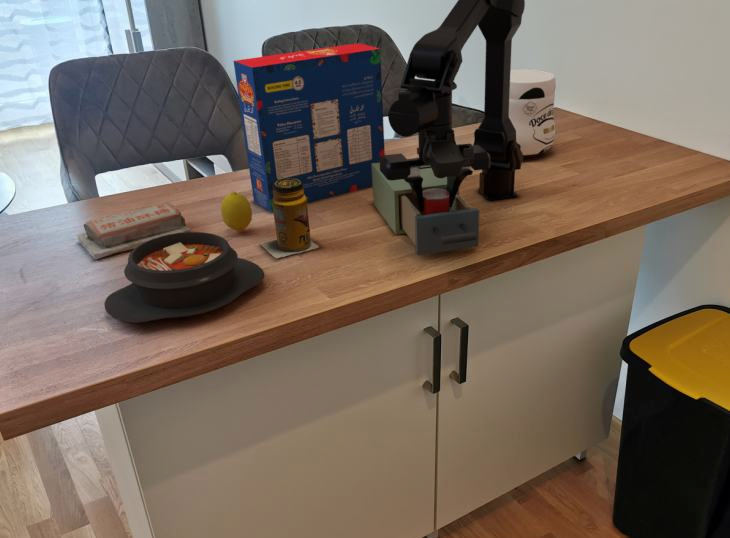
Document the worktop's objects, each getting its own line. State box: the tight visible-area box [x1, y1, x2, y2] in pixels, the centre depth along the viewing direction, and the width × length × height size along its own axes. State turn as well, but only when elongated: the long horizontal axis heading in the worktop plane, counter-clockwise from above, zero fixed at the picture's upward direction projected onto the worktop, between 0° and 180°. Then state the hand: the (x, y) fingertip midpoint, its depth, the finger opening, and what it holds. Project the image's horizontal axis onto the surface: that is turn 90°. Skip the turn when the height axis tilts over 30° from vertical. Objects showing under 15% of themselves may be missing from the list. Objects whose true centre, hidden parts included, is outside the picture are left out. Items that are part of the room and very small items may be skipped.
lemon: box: [220, 191, 253, 233], centre depth 136 cm, size 6×6×8 cm
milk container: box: [509, 68, 556, 159], centre depth 173 cm, size 17×17×18 cm
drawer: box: [398, 188, 480, 256], centre depth 130 cm, size 21×11×7 cm, turn 18°
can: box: [422, 189, 450, 215], centre depth 131 cm, size 5×5×5 cm
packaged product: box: [76, 202, 192, 260], centre depth 135 cm, size 18×5×10 cm
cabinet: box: [371, 163, 460, 235], centre depth 142 cm, size 17×13×9 cm
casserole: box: [103, 231, 265, 324], centre depth 114 cm, size 25×19×8 cm
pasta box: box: [233, 42, 386, 214], centre depth 149 cm, size 28×8×28 cm, turn 127°
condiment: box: [260, 178, 320, 259], centre depth 129 cm, size 7×8×12 cm
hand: (435, 208), depth 131 cm, fingers closed on can, 5 cm apart
